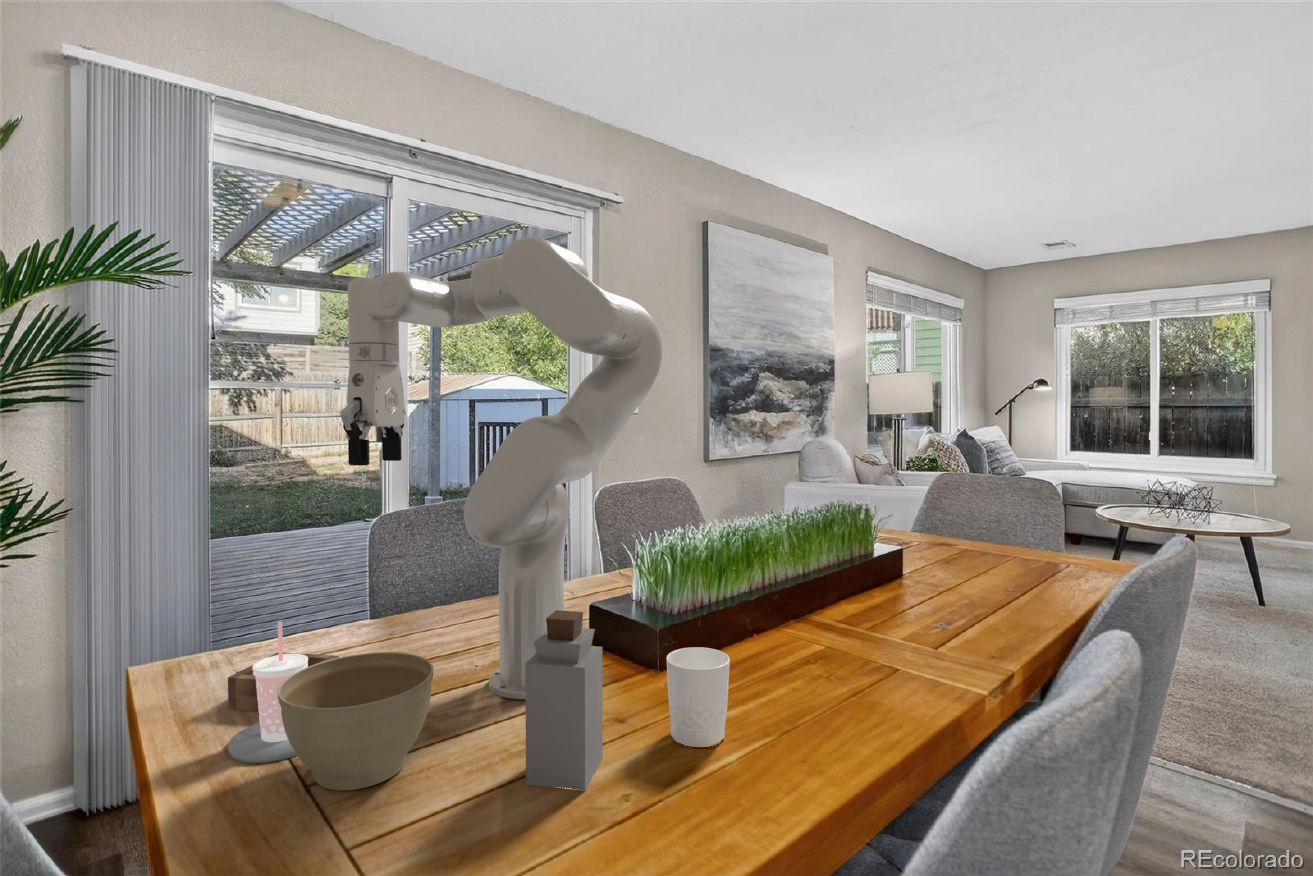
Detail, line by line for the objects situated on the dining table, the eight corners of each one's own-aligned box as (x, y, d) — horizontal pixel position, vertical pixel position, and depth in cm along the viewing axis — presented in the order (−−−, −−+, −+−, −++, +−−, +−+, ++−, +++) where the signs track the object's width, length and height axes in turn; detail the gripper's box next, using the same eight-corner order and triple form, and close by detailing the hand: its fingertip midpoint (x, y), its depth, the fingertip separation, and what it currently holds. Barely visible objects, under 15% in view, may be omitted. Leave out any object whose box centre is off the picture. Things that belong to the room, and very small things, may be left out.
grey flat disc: (347, 724, 92) (347, 718, 92) (291, 766, 81) (291, 759, 81) (270, 718, 93) (270, 712, 93) (206, 759, 82) (205, 752, 82)
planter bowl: (316, 739, 87) (314, 653, 87) (448, 735, 89) (447, 650, 88) (250, 814, 71) (248, 708, 71) (413, 807, 72) (411, 704, 72)
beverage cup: (262, 725, 89) (260, 616, 89) (314, 720, 91) (312, 613, 90) (247, 748, 83) (244, 631, 83) (303, 742, 85) (300, 627, 84)
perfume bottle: (585, 791, 76) (584, 626, 75) (526, 784, 77) (524, 622, 76) (602, 760, 82) (602, 608, 81) (547, 755, 83) (546, 605, 83)
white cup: (711, 757, 83) (711, 674, 82) (654, 741, 87) (654, 661, 87) (739, 731, 90) (740, 654, 89) (686, 717, 94) (686, 643, 93)
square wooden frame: (339, 685, 104) (339, 655, 104) (295, 714, 94) (294, 681, 94) (278, 681, 106) (277, 652, 106) (228, 710, 96) (227, 677, 96)
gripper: (366, 352, 104) (368, 467, 105) (422, 360, 121) (423, 459, 122) (319, 352, 105) (321, 467, 106) (381, 360, 122) (383, 458, 123)
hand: (376, 462), depth 114 cm, fingers open, 9 cm apart
